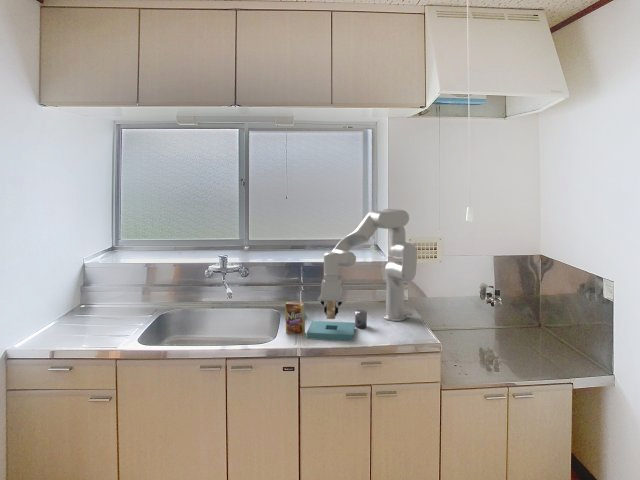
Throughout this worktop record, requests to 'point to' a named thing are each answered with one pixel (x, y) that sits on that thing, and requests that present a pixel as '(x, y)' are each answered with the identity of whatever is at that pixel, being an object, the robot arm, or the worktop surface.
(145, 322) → the worktop surface
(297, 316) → the candy box
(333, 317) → the square bit
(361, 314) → the round bit
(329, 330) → the socket block
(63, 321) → the worktop surface
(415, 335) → the worktop surface
